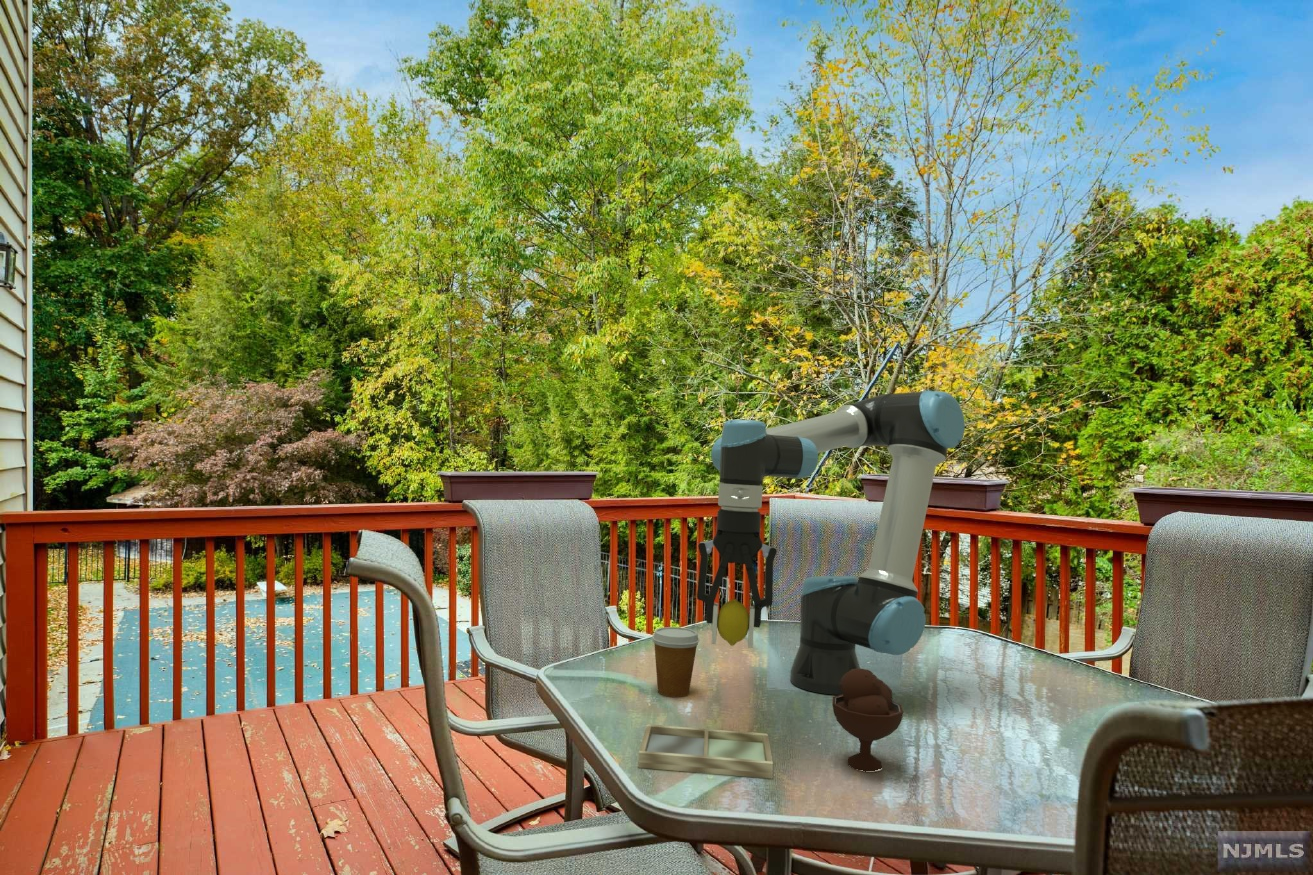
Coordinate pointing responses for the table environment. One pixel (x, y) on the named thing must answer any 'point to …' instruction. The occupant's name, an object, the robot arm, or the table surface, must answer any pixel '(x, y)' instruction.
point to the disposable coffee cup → (674, 659)
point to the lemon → (733, 622)
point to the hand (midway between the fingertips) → (731, 643)
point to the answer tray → (706, 751)
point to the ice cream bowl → (866, 714)
